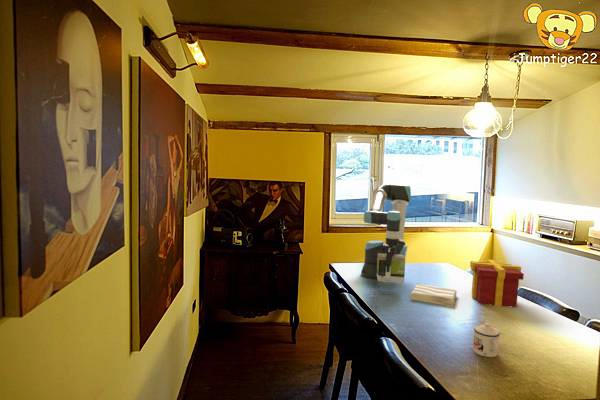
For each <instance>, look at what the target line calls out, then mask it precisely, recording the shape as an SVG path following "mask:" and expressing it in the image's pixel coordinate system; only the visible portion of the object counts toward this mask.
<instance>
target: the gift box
mask: <svg viewBox="0 0 600 400" xmlns="http://www.w3.org/2000/svg"><path fill="white" fill-rule="evenodd" d="M469 266H470V271H471V272H472V284H471V285H472V286H471V298H472V300H476V302H477V301H478V302H477V303H478V304H479V303H481V305H489V304H491V306H495V307H499V306H502V307H508V306H512V307H511V308H517V307H518V306H517V305H518V296H519V293H518V292H519V284H520V281H523V280H524V273H523V272H522V266H520V265H512V264H509V263H506V264H505V263H498V262H496V261H495V260H493V259H487V260H486V262H485V261H483V262H482V261H472V260H470V265H469Z"/></svg>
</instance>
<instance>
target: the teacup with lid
mask: <svg viewBox="0 0 600 400" xmlns="http://www.w3.org/2000/svg"><path fill="white" fill-rule="evenodd" d="M473 330H474V334H473V335H474V336H473V346H472V347H473V348H472V350H473V351H474V353H475V354H477V355H479V356H482V357H485V358H496V357H497V355H498V353H499V339H500V331H499V330H498V329H497V328H495V327H493V326H491V324H490V323H489V322H485V323H484V324H481V325H476V326H475V327H474V328H473Z"/></svg>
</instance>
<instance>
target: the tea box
mask: <svg viewBox="0 0 600 400" xmlns="http://www.w3.org/2000/svg"><path fill="white" fill-rule="evenodd" d="M386 256H387V254H380V253H378V259H377V281H378V282H384V283H386V282H387V283H401V284H402V283H403V284H404V283H405V274H406V273H405V271H406V257H404V256H403V255H400V254H395V255H393V256H392V261H391V275H390V278H388V277H385V274H386V266H385V263H386Z"/></svg>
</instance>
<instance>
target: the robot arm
mask: <svg viewBox="0 0 600 400" xmlns="http://www.w3.org/2000/svg"><path fill="white" fill-rule="evenodd" d="M386 201H389V202H390V204H392V210H389V211H387V212H386V211H383V208H384V204H385V202H386ZM411 202H412V192H411V185H410V184H404V183H383V184H381V185H379V186H378V187H377V188H375V190H373V193H372V201H371V204H370V207H369V210H365V211H364V213H363V222H364V223H366V224H373V225H382V226H383V225H384V226H386V229H385V230H386V231H385V242H384V240H377V239H376V240H370V241H367V242H366V243H365V246H364V261H363V265H362V269H361V272H360V275H361V276H362V277H365V278H368V279H373V280H375V279H377V259H378V253H380V254H387V256H386V263H385V266H386V274H385V277H388V278H390V275H391V261H392V256H393V255H395V254H400V255H403V256H404V257H405V258H406V257H407V252H408V245H406V242H405V240H404V236H405V222H406V214H407V213H406V212H407V206H409V203H411ZM377 280H378V279H377Z"/></svg>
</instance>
